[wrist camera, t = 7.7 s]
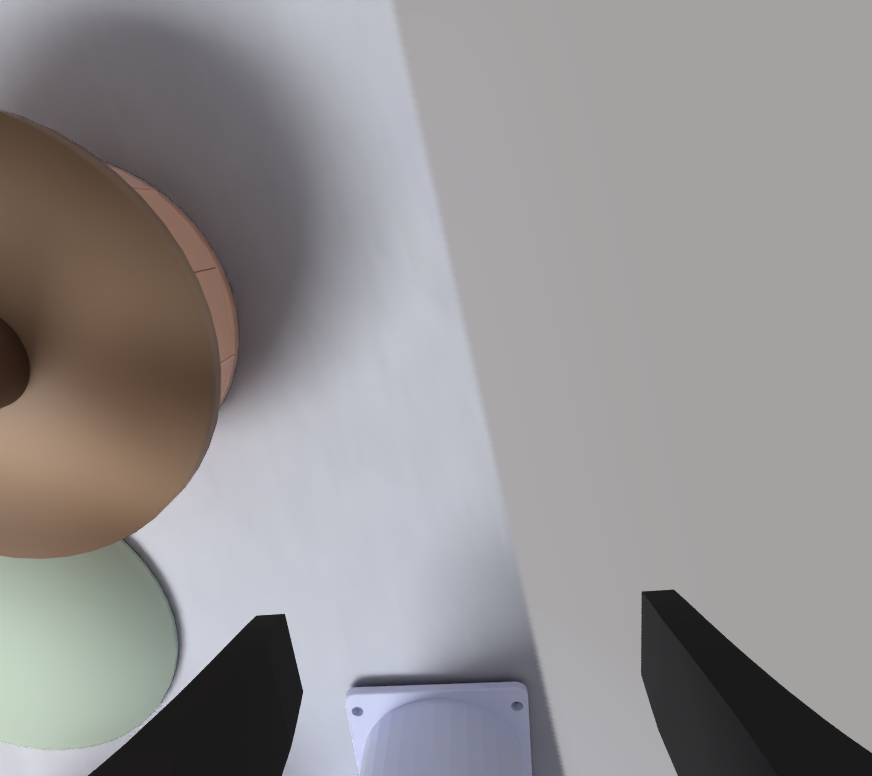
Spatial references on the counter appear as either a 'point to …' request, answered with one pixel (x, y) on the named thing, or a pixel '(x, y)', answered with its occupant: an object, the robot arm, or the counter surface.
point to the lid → (92, 352)
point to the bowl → (199, 273)
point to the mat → (81, 648)
